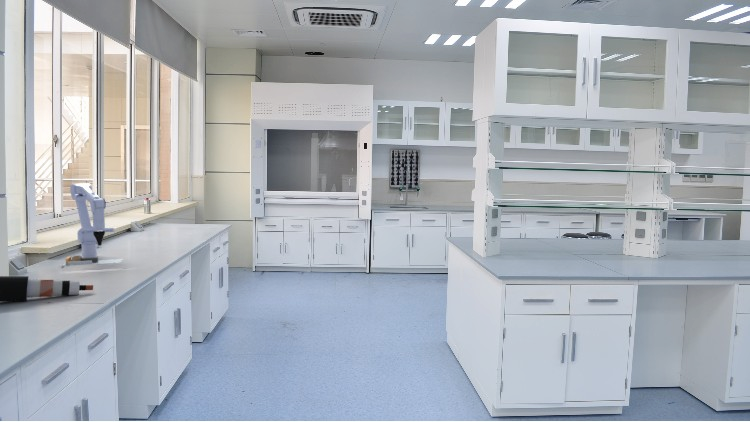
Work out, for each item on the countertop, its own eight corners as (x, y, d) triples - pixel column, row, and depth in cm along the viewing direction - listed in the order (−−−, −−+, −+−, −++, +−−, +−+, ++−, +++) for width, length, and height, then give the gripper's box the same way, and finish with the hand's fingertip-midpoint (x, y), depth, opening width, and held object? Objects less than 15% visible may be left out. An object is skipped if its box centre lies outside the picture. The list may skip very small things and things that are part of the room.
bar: (81, 262, 284) (81, 257, 284) (98, 261, 287) (97, 257, 287) (80, 263, 282) (80, 258, 282) (97, 262, 285) (97, 258, 284)
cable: (92, 304, 224) (94, 286, 220) (-5, 306, 207) (-4, 287, 202) (91, 289, 232) (93, 271, 227) (-2, 290, 214) (-2, 271, 210)
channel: (66, 263, 286) (66, 255, 286) (123, 261, 295) (122, 253, 294) (61, 267, 276) (61, 259, 275) (120, 264, 284) (119, 256, 284)
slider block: (73, 261, 284) (73, 255, 283) (81, 261, 285) (81, 255, 285) (72, 263, 280) (71, 256, 280) (80, 262, 282) (80, 256, 281)
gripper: (82, 221, 281) (83, 246, 282) (112, 221, 285) (113, 245, 286) (85, 220, 287) (86, 244, 289) (114, 219, 292) (115, 243, 293)
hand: (99, 245), depth 288 cm, fingers closed
